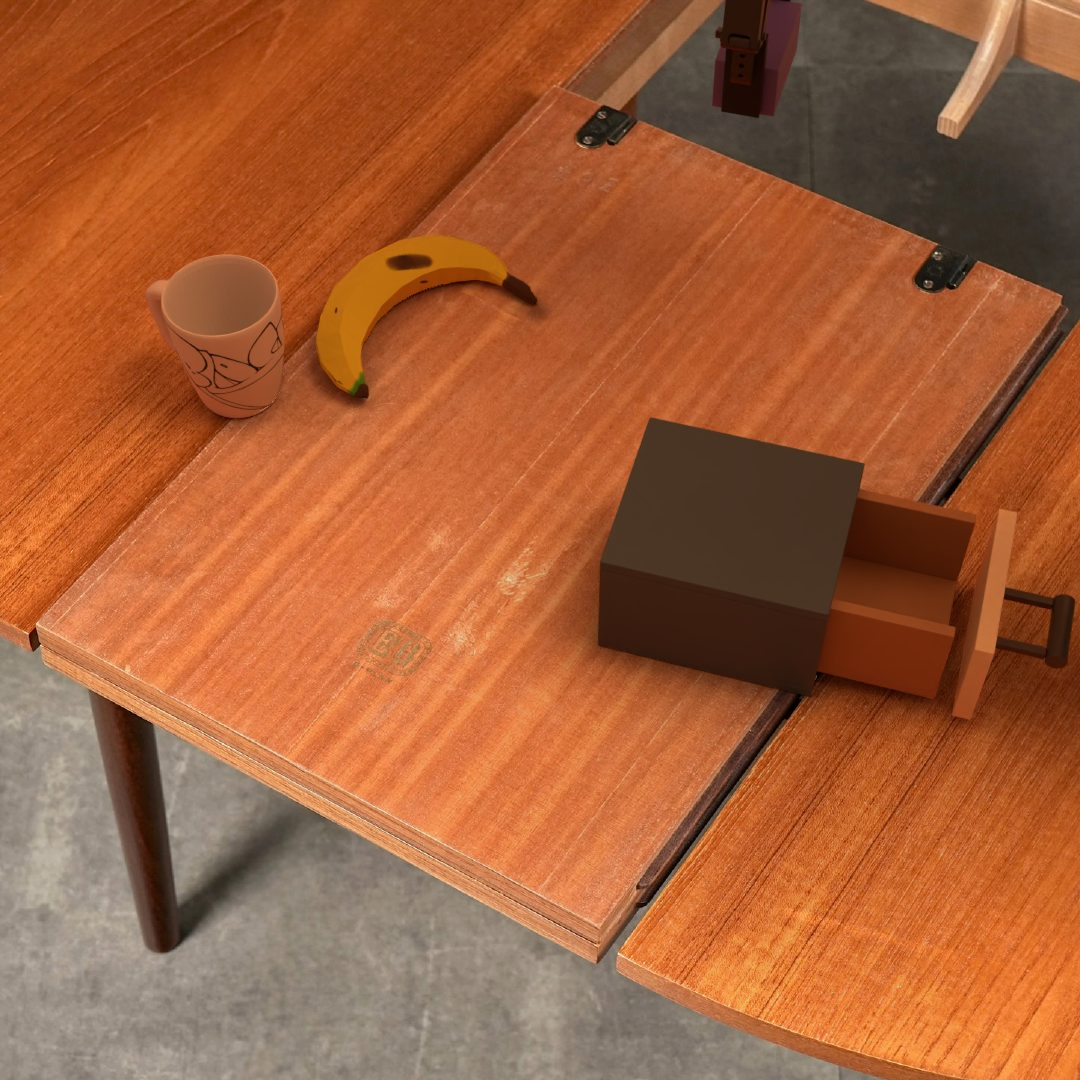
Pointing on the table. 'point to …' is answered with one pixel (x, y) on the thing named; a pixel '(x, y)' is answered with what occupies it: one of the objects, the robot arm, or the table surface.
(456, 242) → the banana
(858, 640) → the drawer
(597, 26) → the table surface
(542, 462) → the table surface
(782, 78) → the purple block
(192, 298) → the mug
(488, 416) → the table surface
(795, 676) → the cabinet
